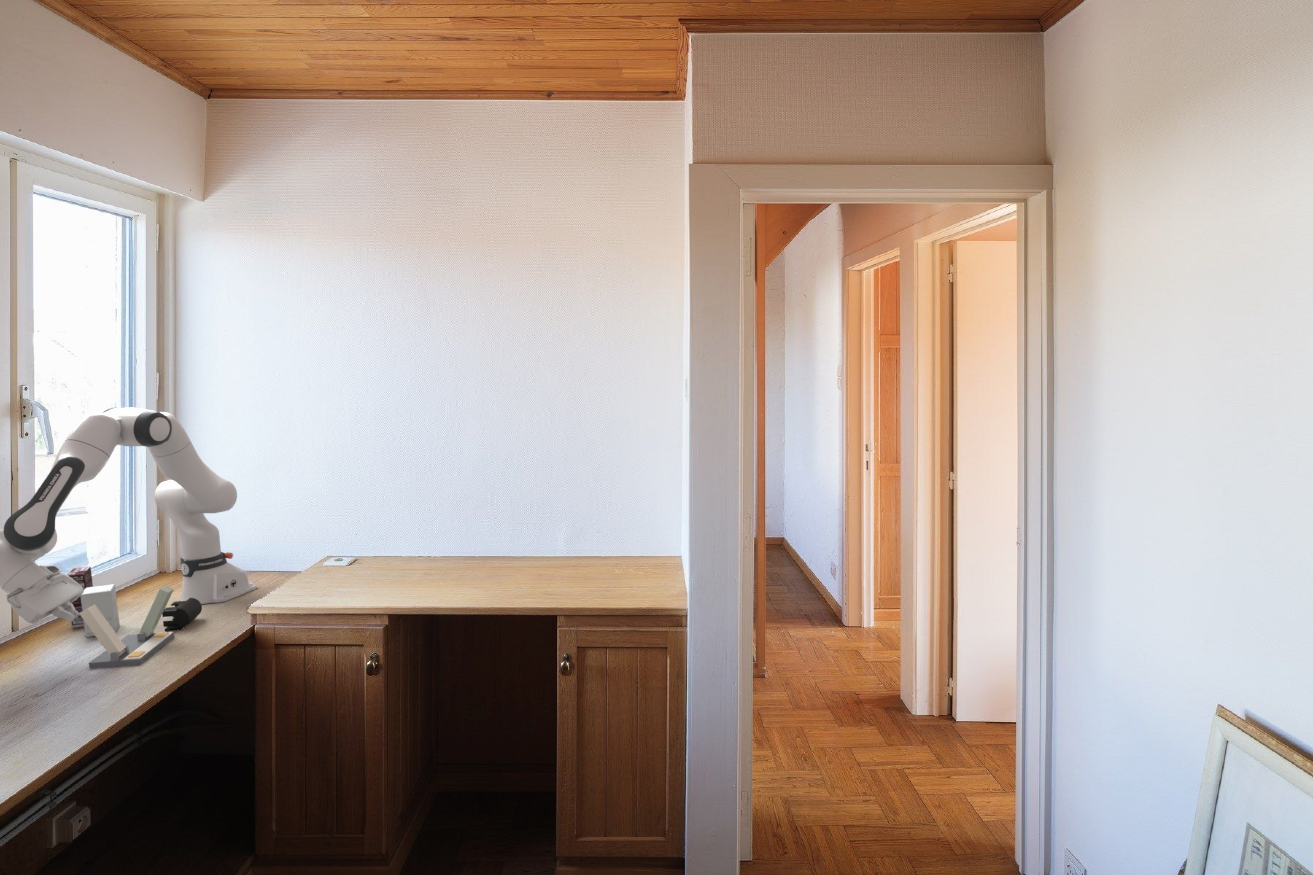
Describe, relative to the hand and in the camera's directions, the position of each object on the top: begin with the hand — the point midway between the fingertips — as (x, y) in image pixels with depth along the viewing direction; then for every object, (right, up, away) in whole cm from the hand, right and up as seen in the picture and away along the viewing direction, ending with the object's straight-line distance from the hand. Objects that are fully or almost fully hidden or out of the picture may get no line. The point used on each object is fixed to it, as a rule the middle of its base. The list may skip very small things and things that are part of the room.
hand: (75, 618), depth 209 cm
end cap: (+10, -9, +30) cm, 33 cm away
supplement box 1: (-21, -9, +34) cm, 41 cm away
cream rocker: (+10, -10, +2) cm, 14 cm away
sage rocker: (+8, -8, +16) cm, 20 cm away
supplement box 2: (-11, -10, +26) cm, 30 cm away
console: (+9, -11, +10) cm, 17 cm away
